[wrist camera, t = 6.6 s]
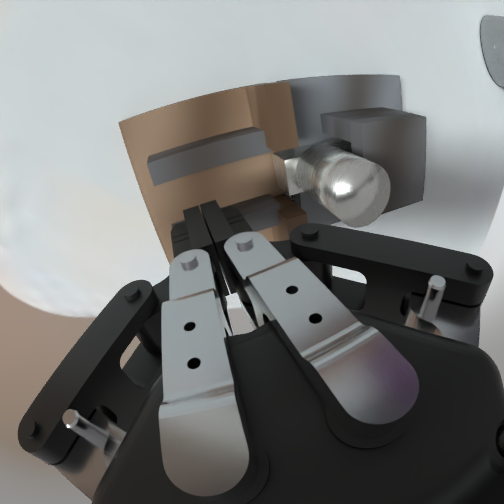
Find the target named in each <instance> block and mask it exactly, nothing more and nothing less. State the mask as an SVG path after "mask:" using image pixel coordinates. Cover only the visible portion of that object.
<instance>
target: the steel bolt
mask: <svg viewBox="0 0 504 504" xmlns="http://www.w3.org/2000/svg"><path fill="white" fill-rule="evenodd" d="M272 157H273V163H274V169H275V175H276V181H277V186H279V187H280V188H281V189H282V190H283V191H285V192H286V193H287V194H288V195H289V196H291V195H294V194H298V193H301V192H306V193H307V194H308V195H310V196H311V197H312V198H314V199H315V200H316V201H317V202H319V203H320V204H321V205H323V206H324V207H325V208H326V209H328V210H329V211H330V212H332V213H333V214H334V215H335V216H337V217H338V218H339V219H340V220H342V221H343V222H344V223H345V224H347V225H348V226H351V227H363V226H366V225H368V224H370V223H372V222H373V221H375V220H376V219H377V218H378V217H379V216H380V215H381V213H382V212H383V210H384V209H385V207H386V205H387V203H388V200H389V196H390V180H389V176H388V174H387V172H386V171H385V170H384V168H382V167H381V166H380V165H378V164H376V163H373V162H371V161H369V160H367V159H364V158H362V157H360V156H357V155H355V154H352V148H351V142H349V141H346V140H343V139H336V140H331V141H326V142H320V143H315V144H311V145H306V146H301V147H296V148H292V149H287V150H283V151H279V152H275V153H272Z"/></svg>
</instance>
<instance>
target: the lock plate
mask: <svg viewBox="0 0 504 504" xmlns="http://www.w3.org/2000/svg"><path fill="white" fill-rule="evenodd" d="M119 126H120V130H121V133H122V136H123V140H124V143H125V146H126V149H127V152H128V155H129V158H130V161H131V164H132V167H133V170H134V173H135V176H136V179H137V182H138V185H139V187H140V190H141V193H142V196H143V199H144V201H145V204H146V207H147V209H148V212H149V215H150V217H151V220H152V222H153V225H154V227H155V230H156V233H157V235H158V238H159V240H160V242H161V245H162V247H163V250H164V252H165V255H166V257H167V259H168V262H169V264H171V262H172V260H173V259H174V255H173V248H172V240H171V230H172V228H173V226H174V225H175V224H178V223H181V222H184V221H185V219H184V214H183V210H185V209H188V208H191V207H194V206H197V205H198V206H199V208H200V204H203V203H206V202H209V201H212V200H216V201H217V203H218V205H219V207H220V209H223V208H226V207H229V206H231V207H234V208H236V209H238V210H239V211H240V213H241V214H242V216H243V217H244V218H245V220H246V221H247V223H248V224H249V226H250V227H251V229H252V230H253V231H254V232H258V233H260V234H262V235H263V236H264V237H265V238H266V239H267V240H268V241H283V240H290V238H289V234H290V232H291V230H293V229H294V228H295V227H297V226H299V225H302V224H306V223H319V224H324V225H330V224H333V223H336V222H339V221H342V220H340V219H339V218H338V217H337V216H335V215H334V214H333V213H332V212H330V211H329V210H328V209H326V208H325V207H324V206H323V205H321V204H320V203H319V202H317V201H316V200H315V199H314V198H312V197H311V196H310V195H308V194H307V193H306V192H301V193H298V194H294V197H295V202H294V201H293V200H292V199H290V198H289V197H288V196H287V195H286V194H285V191H283V190H282V189H281V188H280V187H279V186H277V181H276V175H275V169H274V163H273V157H272V153H275V152H279V151H283V150H287V149H292V148H296V147H301V146H306V145H311V144H315V143H320V142H326V141H331V140H336V139H343V140H346V141H349V142H351V148H352V154H355V155H357V156H360V157H362V158H364V159H367V160H369V161H371V162H373V163H376V164H378V165H380V166H381V167H382V168H384V170H385V171H386V172H387V174H388V176H389V180H390V196H389V200H388V203H387V205H386V207H385V209H384V210H383V212H382V213H381V214H384V213H387V212H390V211H393V210H395V209H398V208H401V207H404V206H407V205H410V204H413V203H416V202H419V201H422V200H423V192H424V180H425V162H426V117H424V116H420V115H416V114H412V113H408V112H403V111H402V96H401V84H400V76H398V75H336V76H320V77H308V78H299V79H290V80H282V81H277V82H275V83H262V84H255V85H250V86H244V87H239V88H234V89H229V90H225V91H220V92H216V93H211V94H207V95H203V96H199V97H195V98H191V99H188V100H184V101H181V102H177V103H174V104H170V105H167V106H164V107H161V108H157V109H154V110H151V111H148V112H145V113H142V114H140V115H137V116H134V117H131V118H129V119H126V120H123V121H121V122H119ZM200 211H201V208H200ZM201 214H202V211H201ZM202 216H203V215H202ZM203 219H204V218H203Z"/></svg>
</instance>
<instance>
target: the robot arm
mask: <svg viewBox="0 0 504 504" xmlns="http://www.w3.org/2000/svg"><path fill="white" fill-rule="evenodd" d="M481 43H482V49H483V54H484V58H485V61H486V64H487V67H488V70H489V72H490V75H491V76H492V78H493V80H494V81H495V82H496V84H498V85H499V86H502V87H504V17H502V16H493V15H486V16H484V18H483V19H482V22H481ZM200 208H201V211H202V214H201V211H200ZM200 208H199V206H198V205H197V206H194V207H191V208H188V209H185V210H183V214H184V219H185V221H184V222H181V223H178V224H175V225H174V226H173V228H172V230H171V240H172V248H173V255H174V259H173V260H172V262H171V264H170V267H169V276H168V277H167V278H166V279H164V280H163V281H161V282H160V283H158V284H156V285H155V286H153V287H152V285H151V283H150V282H148V281H146V280H137V281H133V282H131V283H129V284H127V285H125V286H124V287H123V288H121V289H120V290H119V291H118V293H117V294H116V295H115V296H114V297H113V298H112V300H111V301H110V302H109V303H108V304H107V306H106V307H105V308H104V309H103V310H102V312H101V313H100V314H99V315H98V316H97V318H96V319H95V320H94V321H93V322H92V324H91V325H90V326H89V328H88V329H87V330H86V331H85V332H84V334H83V335H82V336H81V338H80V339H79V340H78V341H77V343H76V344H75V345H74V347H73V348H72V349H71V350H70V352H69V353H68V354H67V356H66V357H65V358H64V360H63V361H62V362H61V364H60V365H59V366H58V368H57V369H56V370H55V372H54V373H53V374H52V376H51V377H50V379H49V380H48V381H47V383H46V384H45V386H44V387H43V388H42V390H41V391H40V393H39V394H38V396H37V397H36V398H35V400H34V401H33V403H32V404H31V406H30V407H29V409H28V411H27V412H26V413H25V415H24V416H23V418H22V420H21V422H20V424H19V428H18V440H19V443H20V445H21V447H22V448H23V449H24V450H25V451H27V452H28V453H30V454H32V455H34V456H36V457H38V458H39V459H41V460H43V461H44V462H45V463H46V464H48V465H50V466H52V467H54V468H56V469H57V470H58V471H59V472H61V473H62V474H63V475H64V476H65V477H66V478H67V479H68V480H69V481H70V482H71V483H72V484H73V485H74V486H75V487H77V488H78V489H79V490H80V491H81V492H82V493H84V494H85V495H86V496H87V497H88V498H89V499H91V500H92V504H504V388H503V384H502V379H501V376H500V372H499V370H498V368H497V366H496V364H495V363H494V361H493V360H492V358H491V357H490V356H489V355H488V354H487V353H485V352H484V351H483V350H481V349H480V348H478V347H479V332H480V307H481V305H482V303H483V300H484V298H485V296H486V293H487V291H488V288H489V286H490V284H491V281H492V279H493V270H492V268H491V266H490V265H489V264H488V262H486V261H485V260H484V259H482V258H480V257H478V256H476V255H472V254H468V253H464V252H460V251H455V250H451V249H446V248H442V247H437V246H433V245H428V244H423V243H419V242H414V241H409V240H404V239H399V238H394V237H389V236H384V235H379V234H374V233H369V232H363V231H358V230H353V229H347V228H342V227H336V226H330V225H324V224H319V223H306V224H302V225H299V226H297V227H295V228H294V229H293V230H291V232H290V234H289V238H290V240H283V241H268V240H267V239H266V238H265V237H264V236H263V235H262V234H260V233H258V232H254V231H253V230H252V229H251V227H250V226H249V224H248V223H247V221H246V220H245V218H244V217H243V216H242V214H241V213H240V211H239V210H238V209H236V208H234V207H231V206H229V207H226V208H223V209H220V207H219V205H218V203H217V201H216V200H212V201H209V202H206V203H203V204H200ZM202 215H203V216H202ZM203 218H204V219H203ZM332 265H333V266H337V267H341V268H346V269H350V270H354V271H358V272H360V273H362V274H363V275H364V276H365V278H366V280H367V284H364V283H359V282H355V281H351V280H347V279H343V278H339V277H335V276H332ZM221 269H222V270H221ZM222 272H223V273H222ZM223 275H224V276H223ZM224 277H225V279H224ZM225 280H226V282H227V285H228V287H229V290H230V292H231V294H233V293H236V292H237V293H238V296H239V299H240V302H241V305H242V308H243V310H244V311H245V313H246V315H247V316H248V318H249V320H250V322H251V324H252V325H253V327H254V329H255V330H254V331H252V332H250V333H246V334H240V335H234V331H233V327H232V323H231V319H230V315H229V312H228V309H227V301H226V298H225V296H228V295H230V294H229V291H228V288H227V285H226V282H225ZM135 336H137V338H138V339H139V340H140V342H141V343H140V344H139V346H138V347H137V349H136V350H135V351H134V353H133V354H132V356H131V357H130V359H129V360H128V361H127V363H126V364H125V366H124V367H123V369H121V367H120V358H121V356H122V354H123V352H124V351H125V350H126V348H127V346H128V345H129V344H130V343H131V341H132V340H133V338H134V337H135Z"/></svg>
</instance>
